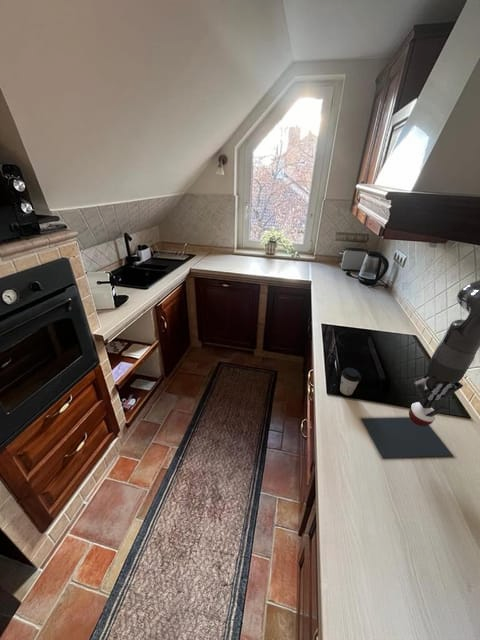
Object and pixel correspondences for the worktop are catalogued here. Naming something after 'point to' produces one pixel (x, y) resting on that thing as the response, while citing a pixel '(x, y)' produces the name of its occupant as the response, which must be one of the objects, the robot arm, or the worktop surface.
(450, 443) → the worktop surface
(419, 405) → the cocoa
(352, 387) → the coffee cup
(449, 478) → the worktop surface
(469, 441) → the worktop surface
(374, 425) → the mat
